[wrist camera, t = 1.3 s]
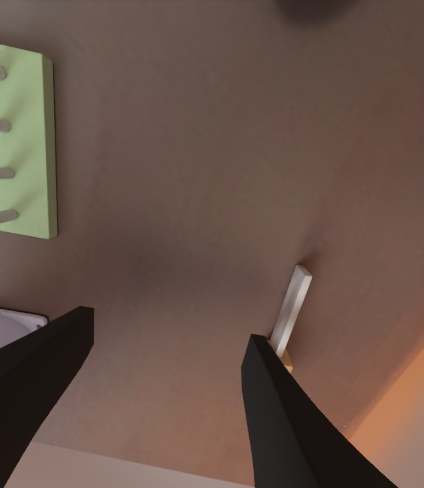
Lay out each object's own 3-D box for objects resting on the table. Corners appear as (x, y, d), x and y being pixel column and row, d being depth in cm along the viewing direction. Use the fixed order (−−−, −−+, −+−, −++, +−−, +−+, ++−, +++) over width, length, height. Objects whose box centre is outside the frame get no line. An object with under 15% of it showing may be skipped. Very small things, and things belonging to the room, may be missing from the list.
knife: (269, 380, 23) (276, 408, 20) (248, 377, 23) (252, 404, 20) (312, 267, 19) (328, 283, 16) (287, 262, 19) (298, 278, 16)
